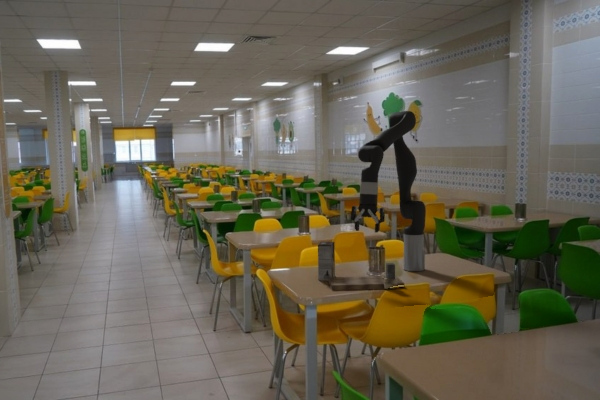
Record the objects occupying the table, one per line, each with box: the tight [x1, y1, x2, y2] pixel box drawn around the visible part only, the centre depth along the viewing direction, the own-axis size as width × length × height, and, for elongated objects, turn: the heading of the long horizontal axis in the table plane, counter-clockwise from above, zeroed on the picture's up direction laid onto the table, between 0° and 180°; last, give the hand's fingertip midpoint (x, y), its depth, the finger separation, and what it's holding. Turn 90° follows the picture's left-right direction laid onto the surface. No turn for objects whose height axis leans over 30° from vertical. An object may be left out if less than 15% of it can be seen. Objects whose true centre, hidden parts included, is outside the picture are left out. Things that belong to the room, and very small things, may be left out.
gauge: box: [381, 262, 397, 290], centre depth 219 cm, size 5×13×10 cm, turn 3°
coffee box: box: [317, 241, 336, 282], centre depth 235 cm, size 9×6×16 cm
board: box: [327, 275, 405, 291], centre depth 222 cm, size 30×14×2 cm, turn 93°
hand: (366, 231), depth 221 cm, fingers open, 8 cm apart
